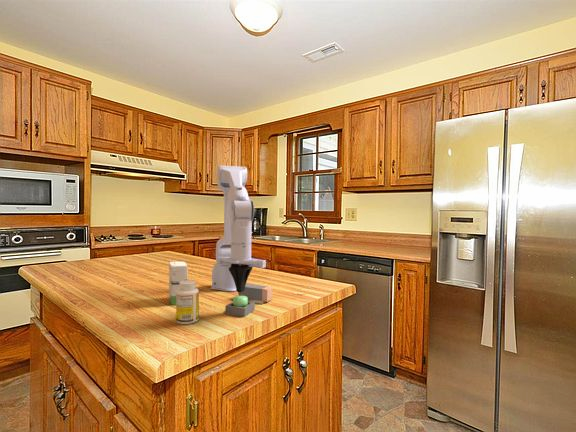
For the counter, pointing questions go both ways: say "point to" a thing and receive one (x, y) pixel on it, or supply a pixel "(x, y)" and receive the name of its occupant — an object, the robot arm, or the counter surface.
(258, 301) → the sheet
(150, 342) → the counter surface
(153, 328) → the counter surface
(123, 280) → the counter surface
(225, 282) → the robot arm
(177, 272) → the ink box
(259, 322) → the counter surface
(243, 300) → the button
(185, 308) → the supplement bottle
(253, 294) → the grey rectangular block
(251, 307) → the button housing
